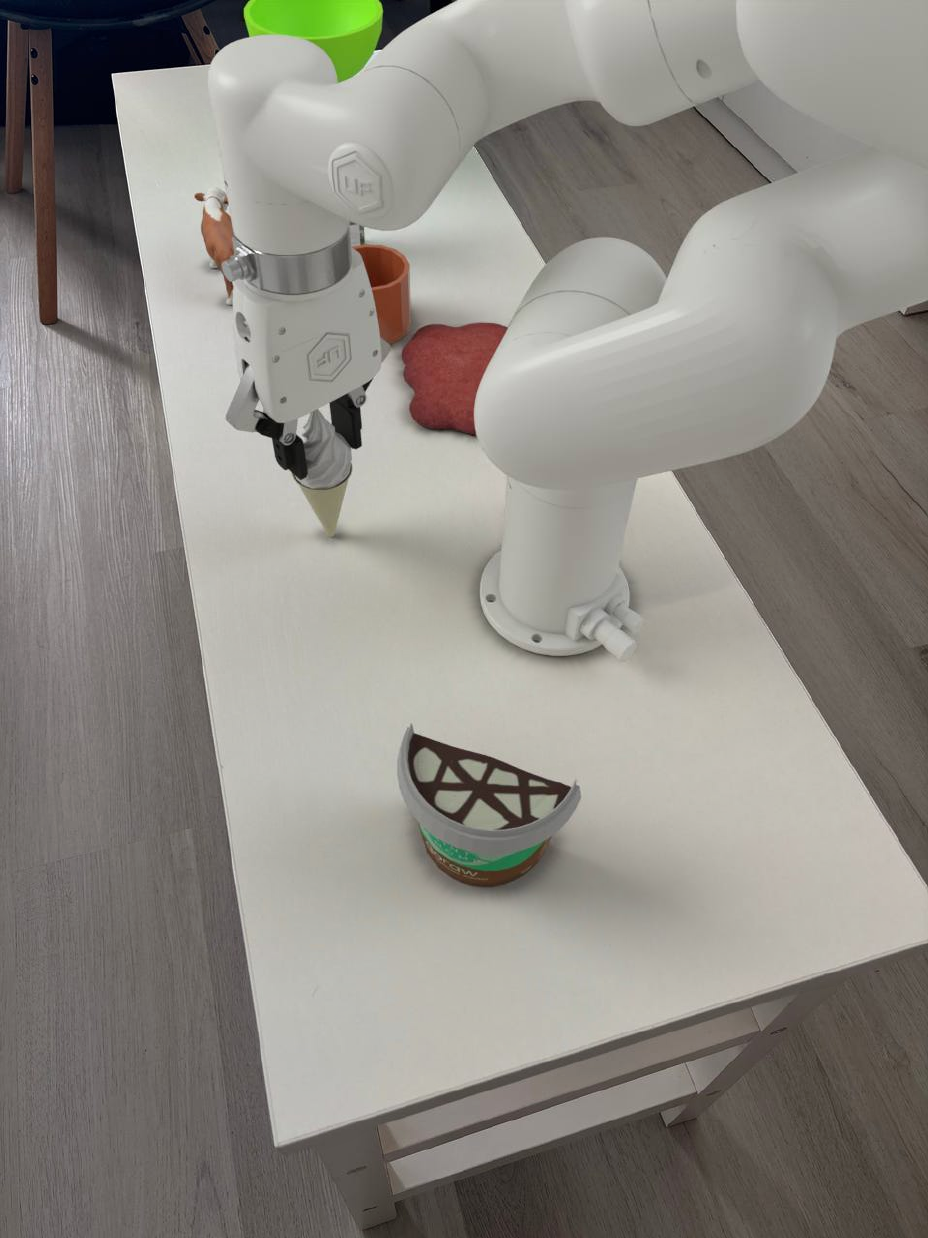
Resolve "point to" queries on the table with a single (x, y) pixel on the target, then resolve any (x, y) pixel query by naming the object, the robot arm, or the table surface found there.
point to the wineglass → (323, 27)
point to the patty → (448, 372)
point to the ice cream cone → (325, 470)
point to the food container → (480, 810)
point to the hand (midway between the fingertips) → (320, 452)
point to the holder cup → (389, 289)
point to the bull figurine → (217, 231)
